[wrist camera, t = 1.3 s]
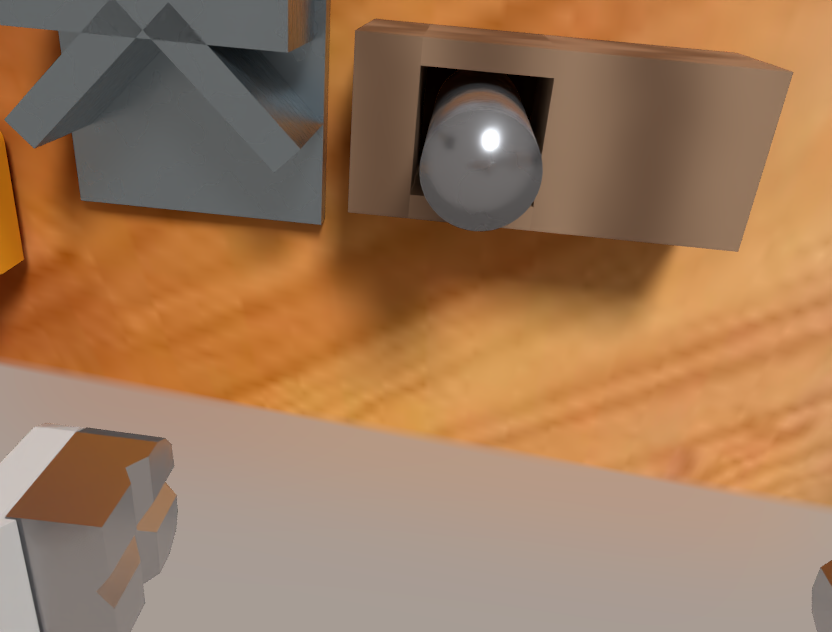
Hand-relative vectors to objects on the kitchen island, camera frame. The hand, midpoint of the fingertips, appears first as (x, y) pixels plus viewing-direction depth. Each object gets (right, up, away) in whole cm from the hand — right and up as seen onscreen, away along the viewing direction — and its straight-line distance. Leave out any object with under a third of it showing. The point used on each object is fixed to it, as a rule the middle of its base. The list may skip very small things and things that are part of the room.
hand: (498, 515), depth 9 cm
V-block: (-11, +13, +25) cm, 30 cm away
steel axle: (+2, +12, +24) cm, 27 cm away
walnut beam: (+5, +12, +24) cm, 27 cm away
